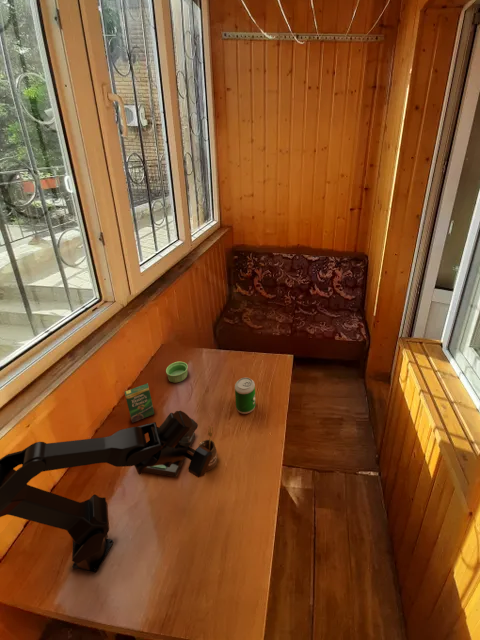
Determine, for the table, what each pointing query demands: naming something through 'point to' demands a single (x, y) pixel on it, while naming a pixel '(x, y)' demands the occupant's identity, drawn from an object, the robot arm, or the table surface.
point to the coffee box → (139, 402)
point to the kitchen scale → (170, 470)
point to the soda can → (245, 395)
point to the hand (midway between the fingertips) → (198, 447)
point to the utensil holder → (211, 446)
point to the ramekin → (177, 371)
